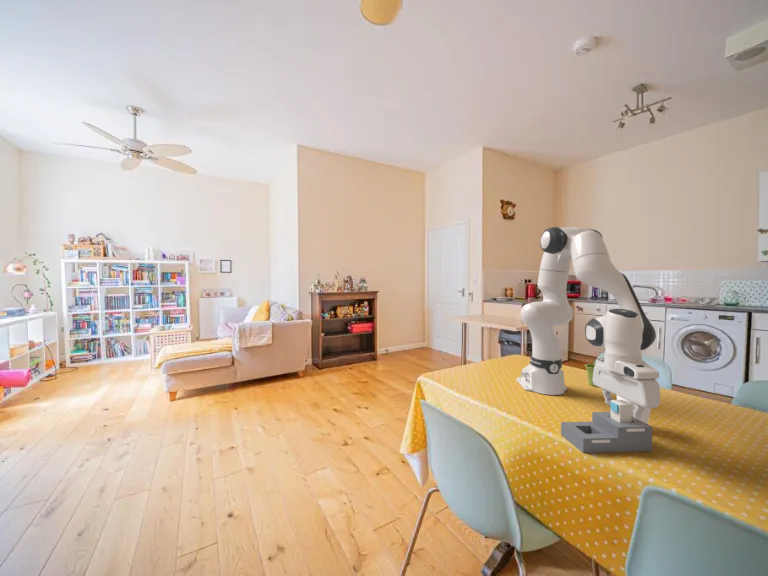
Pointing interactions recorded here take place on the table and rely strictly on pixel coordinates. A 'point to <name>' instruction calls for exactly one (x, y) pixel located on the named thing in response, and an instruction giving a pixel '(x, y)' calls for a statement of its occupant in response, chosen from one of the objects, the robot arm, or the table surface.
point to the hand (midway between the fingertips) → (622, 411)
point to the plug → (621, 411)
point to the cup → (644, 414)
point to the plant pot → (590, 373)
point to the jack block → (608, 434)
